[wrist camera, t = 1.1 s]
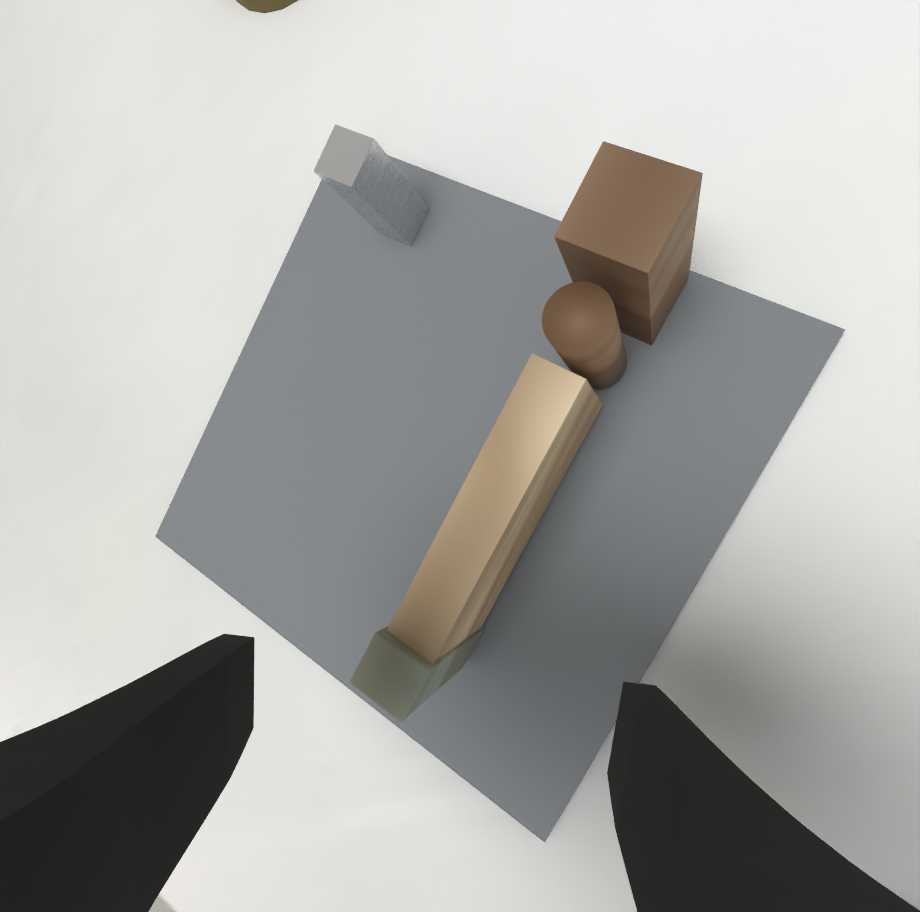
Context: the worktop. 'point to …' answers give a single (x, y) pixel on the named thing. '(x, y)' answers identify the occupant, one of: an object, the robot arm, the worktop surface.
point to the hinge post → (633, 235)
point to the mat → (453, 455)
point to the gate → (497, 504)
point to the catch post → (372, 185)
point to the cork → (265, 4)
